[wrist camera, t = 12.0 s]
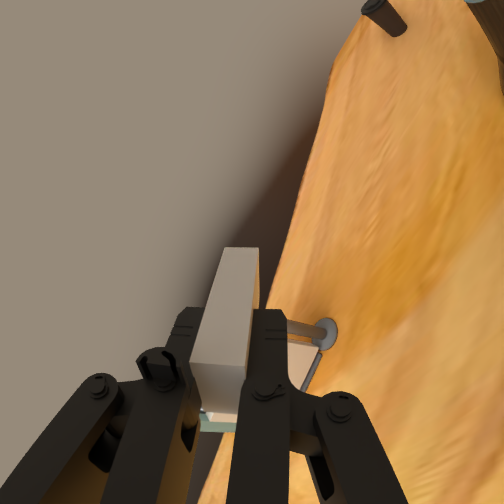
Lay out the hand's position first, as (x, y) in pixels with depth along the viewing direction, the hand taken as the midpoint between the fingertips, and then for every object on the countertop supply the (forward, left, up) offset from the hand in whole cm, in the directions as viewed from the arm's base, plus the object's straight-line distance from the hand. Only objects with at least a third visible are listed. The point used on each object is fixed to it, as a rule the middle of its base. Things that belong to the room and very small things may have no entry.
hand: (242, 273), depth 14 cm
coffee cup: (-62, -20, -27) cm, 71 cm away
